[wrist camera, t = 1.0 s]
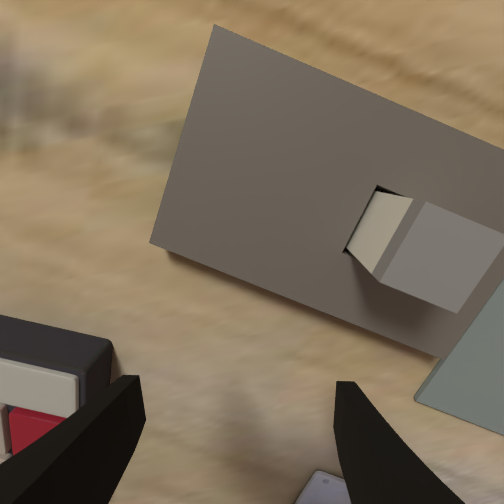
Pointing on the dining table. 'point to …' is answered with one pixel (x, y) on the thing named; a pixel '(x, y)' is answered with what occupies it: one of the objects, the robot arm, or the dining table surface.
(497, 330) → the mat
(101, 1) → the dining table surface
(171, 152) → the dining table surface
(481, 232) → the plug
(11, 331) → the black and red box
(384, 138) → the grey slotted plate
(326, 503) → the robot arm
